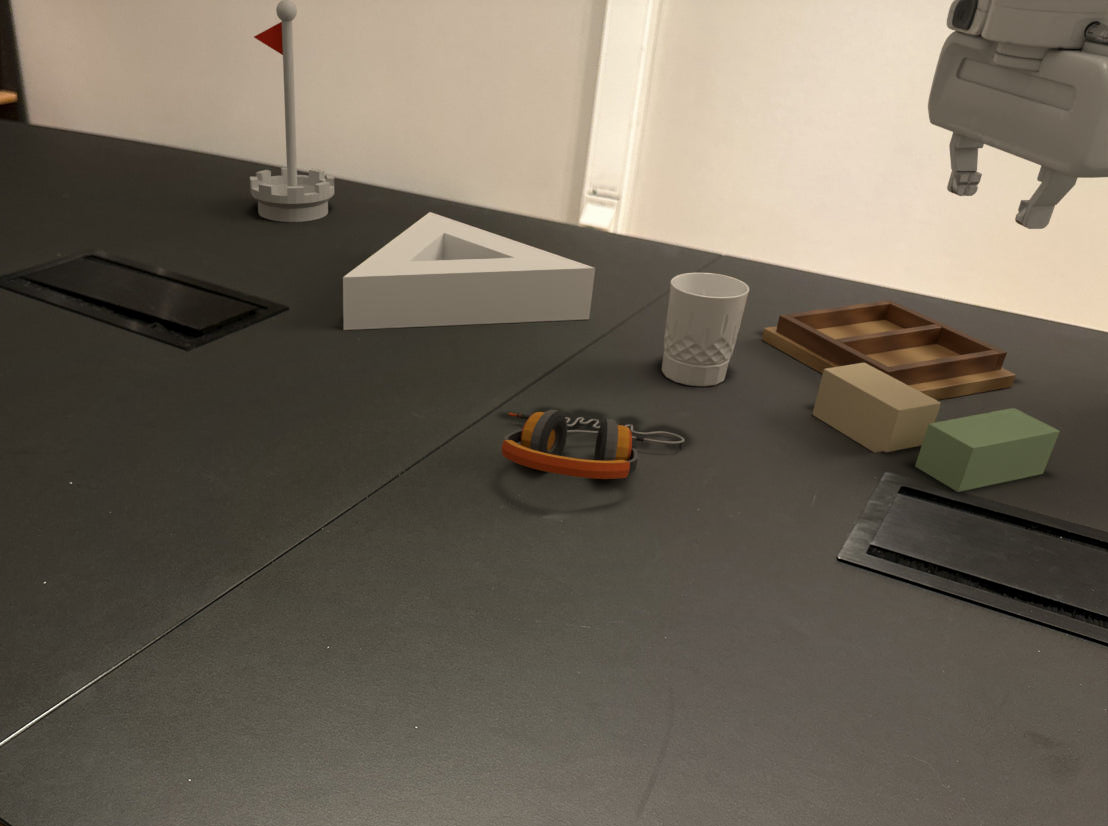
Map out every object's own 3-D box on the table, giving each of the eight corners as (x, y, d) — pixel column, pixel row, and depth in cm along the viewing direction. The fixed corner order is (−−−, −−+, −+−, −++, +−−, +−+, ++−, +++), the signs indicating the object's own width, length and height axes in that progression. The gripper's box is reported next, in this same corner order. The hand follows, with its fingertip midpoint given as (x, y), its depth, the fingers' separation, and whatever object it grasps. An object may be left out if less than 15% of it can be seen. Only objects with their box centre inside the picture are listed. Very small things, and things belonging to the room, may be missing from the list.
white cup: (644, 377, 113) (658, 287, 107) (672, 354, 118) (687, 267, 113) (715, 395, 109) (734, 303, 104) (741, 371, 114) (759, 282, 109)
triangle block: (428, 257, 147) (429, 212, 143) (612, 282, 139) (619, 234, 136) (343, 330, 123) (342, 277, 120) (560, 364, 115) (566, 308, 112)
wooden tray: (876, 323, 128) (884, 295, 126) (1011, 387, 112) (1022, 356, 110) (761, 339, 122) (767, 311, 121) (885, 409, 107) (895, 377, 105)
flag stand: (344, 204, 170) (342, -4, 154) (321, 226, 159) (317, 5, 143) (267, 198, 172) (258, -7, 156) (239, 220, 161) (226, 1, 145)
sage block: (995, 456, 98) (1013, 407, 96) (1040, 480, 94) (1060, 430, 92) (912, 472, 95) (928, 423, 93) (955, 499, 91) (973, 447, 89)
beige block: (811, 414, 105) (823, 368, 103) (851, 407, 107) (864, 362, 104) (884, 459, 98) (898, 410, 95) (925, 450, 99) (941, 402, 96)
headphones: (692, 407, 100) (668, 453, 82) (682, 461, 102) (656, 516, 84) (522, 380, 105) (464, 417, 87) (515, 432, 107) (457, 478, 89)
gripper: (1203, 33, 67) (1120, 248, 75) (1012, 0, 84) (960, 177, 92) (1111, 34, 67) (1037, 249, 74) (938, 0, 84) (892, 178, 91)
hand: (993, 209), depth 83 cm, fingers open, 8 cm apart
